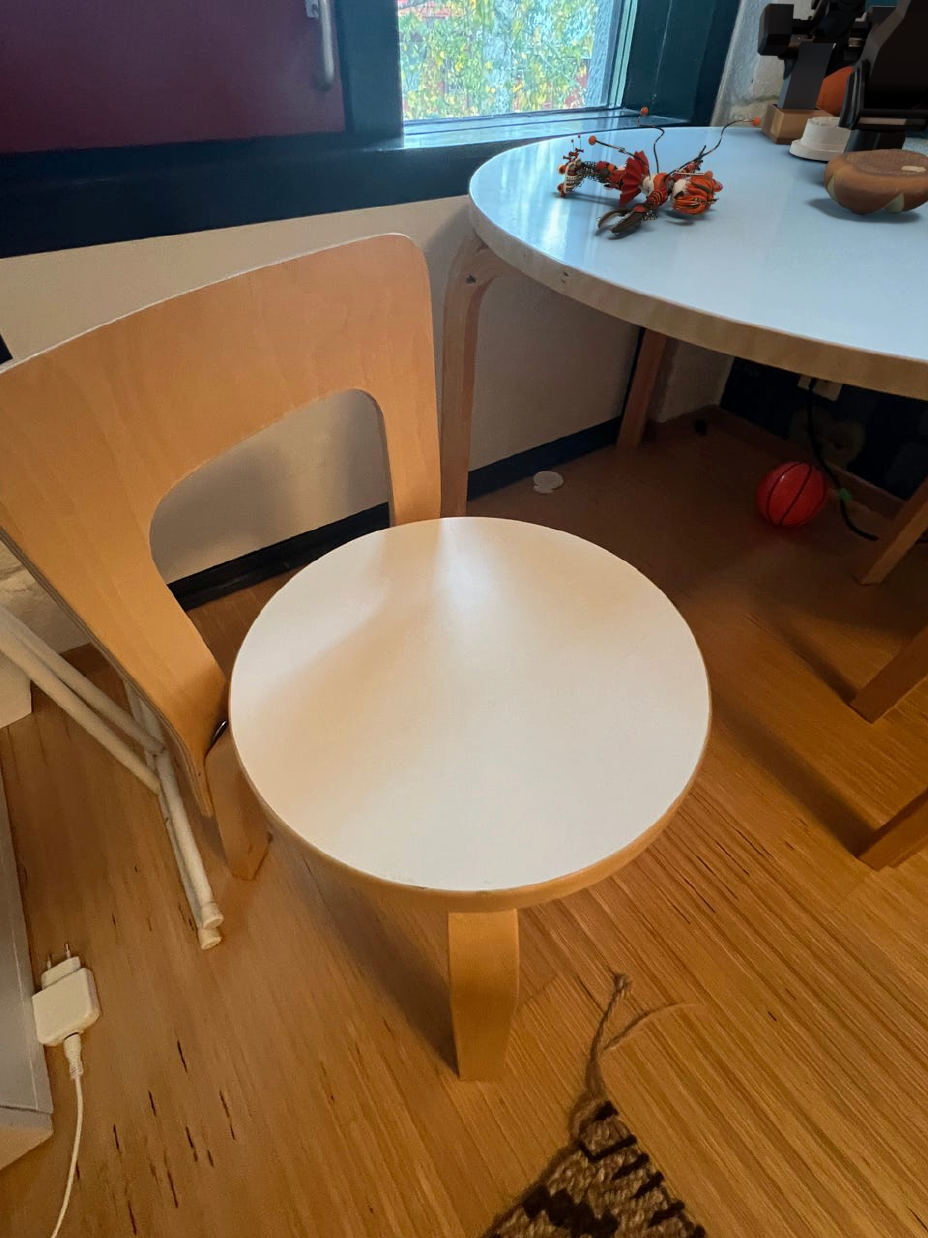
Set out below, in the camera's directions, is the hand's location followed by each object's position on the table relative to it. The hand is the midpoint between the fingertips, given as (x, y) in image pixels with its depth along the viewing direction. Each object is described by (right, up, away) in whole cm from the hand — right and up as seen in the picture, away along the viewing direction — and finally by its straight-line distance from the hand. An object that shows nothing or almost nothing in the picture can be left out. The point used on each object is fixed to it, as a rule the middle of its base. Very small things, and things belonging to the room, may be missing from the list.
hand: (801, 77), depth 108 cm
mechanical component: (0, -18, -8) cm, 19 cm away
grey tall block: (0, -6, +4) cm, 7 cm away
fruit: (+12, +2, +13) cm, 18 cm away
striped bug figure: (-43, -32, -30) cm, 61 cm away
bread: (-7, -35, -34) cm, 49 cm away
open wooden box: (0, -8, +2) cm, 8 cm away
